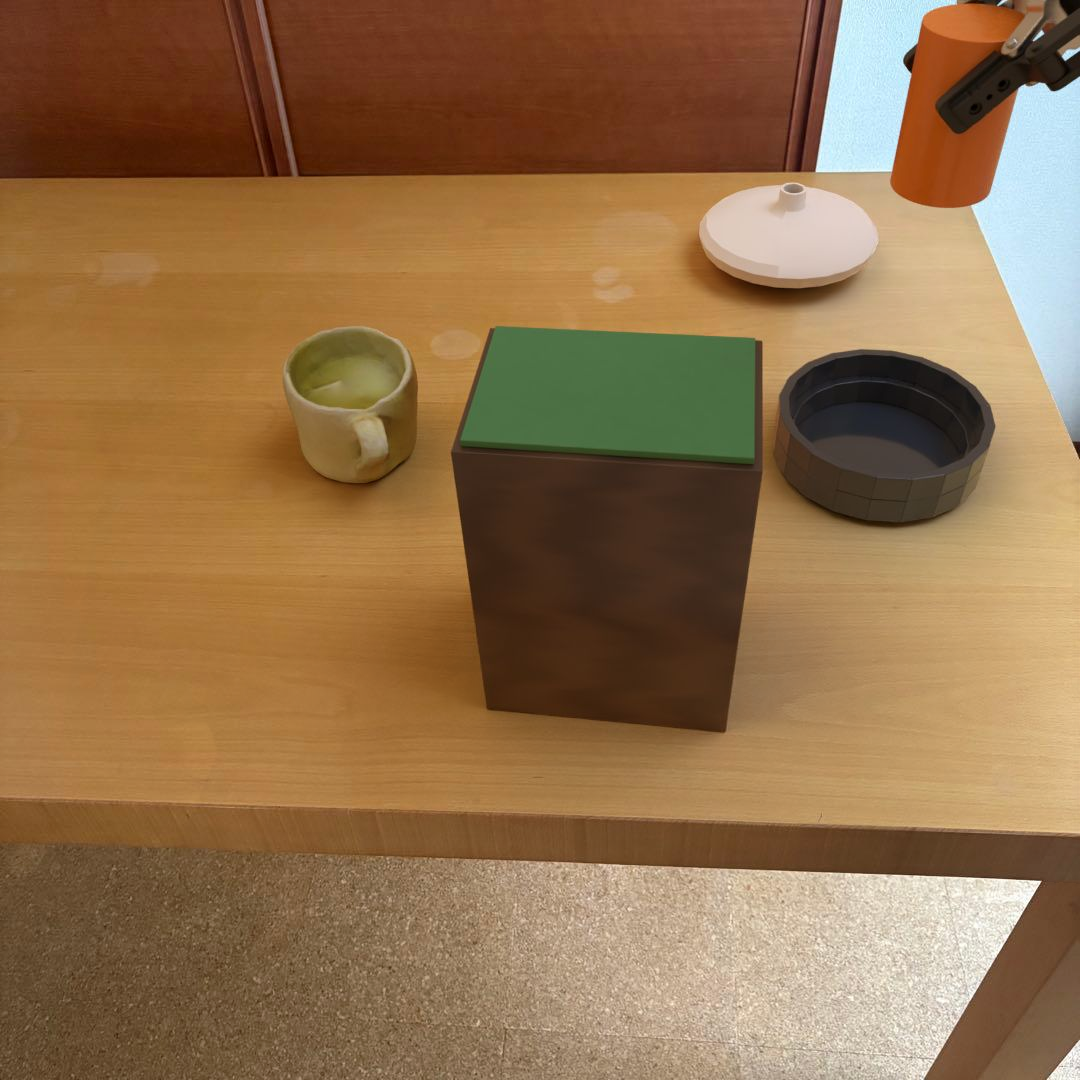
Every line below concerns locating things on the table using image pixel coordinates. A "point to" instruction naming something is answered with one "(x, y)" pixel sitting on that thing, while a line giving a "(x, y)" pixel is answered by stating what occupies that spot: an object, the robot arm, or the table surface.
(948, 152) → the orange can
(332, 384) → the mug
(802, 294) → the table surface
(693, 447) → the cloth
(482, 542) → the stand
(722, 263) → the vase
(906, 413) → the pot
